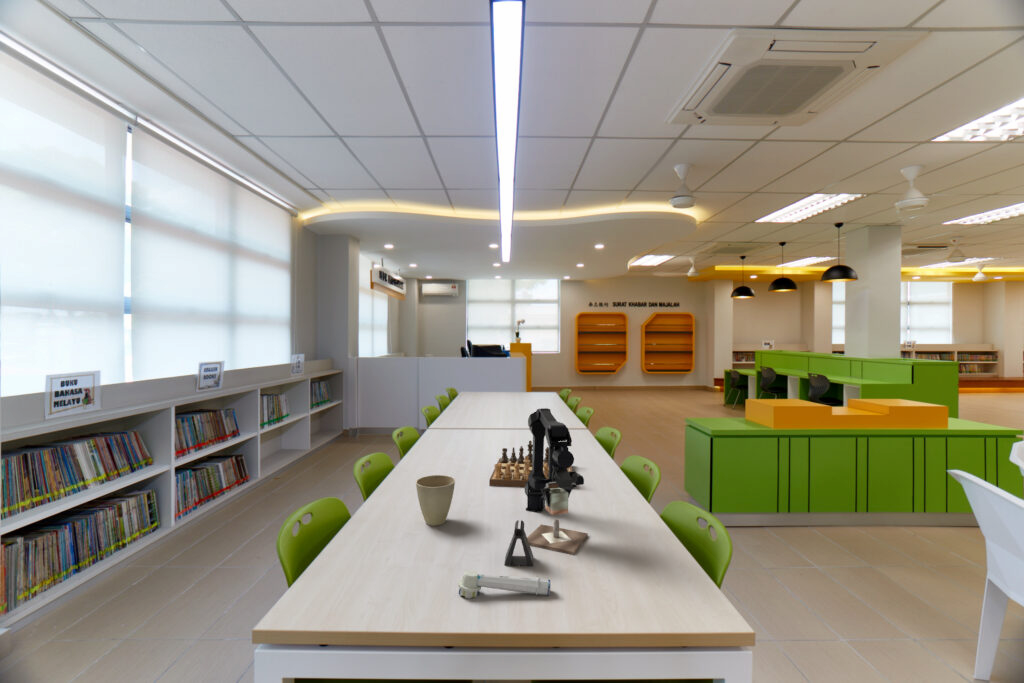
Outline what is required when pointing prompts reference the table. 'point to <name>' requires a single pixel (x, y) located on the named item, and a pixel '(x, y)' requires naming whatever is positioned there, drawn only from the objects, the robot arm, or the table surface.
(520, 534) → the phone stand
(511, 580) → the toothbrush head
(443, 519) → the plant pot
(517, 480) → the chess set
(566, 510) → the sleeve
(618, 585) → the table surface
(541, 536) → the pin board
